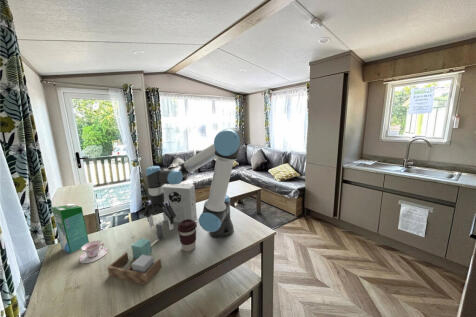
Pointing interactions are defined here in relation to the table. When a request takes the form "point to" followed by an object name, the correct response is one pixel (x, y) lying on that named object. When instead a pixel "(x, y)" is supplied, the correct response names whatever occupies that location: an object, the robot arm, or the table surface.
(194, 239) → the coffee cup
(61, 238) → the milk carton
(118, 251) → the table surface
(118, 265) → the wooden tray
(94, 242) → the teacup
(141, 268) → the slate block
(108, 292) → the table surface
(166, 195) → the cereal box
